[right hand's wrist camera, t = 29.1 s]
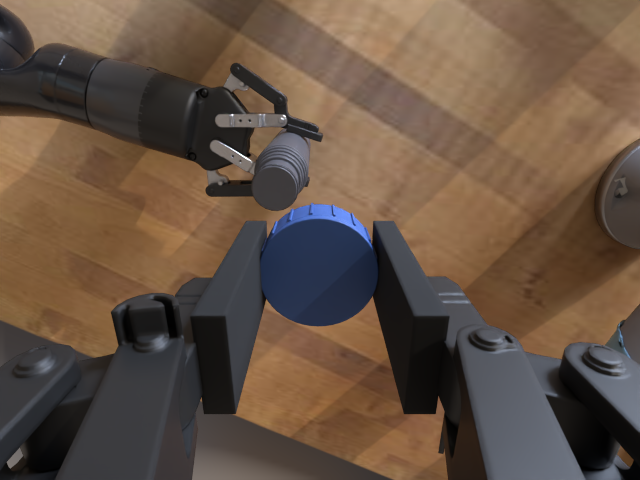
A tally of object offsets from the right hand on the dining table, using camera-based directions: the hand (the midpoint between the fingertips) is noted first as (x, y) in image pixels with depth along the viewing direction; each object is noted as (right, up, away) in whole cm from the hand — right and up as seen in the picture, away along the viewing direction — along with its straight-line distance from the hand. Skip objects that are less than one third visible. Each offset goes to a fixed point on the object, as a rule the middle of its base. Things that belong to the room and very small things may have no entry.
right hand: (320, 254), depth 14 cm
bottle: (-3, +12, +31) cm, 34 cm away
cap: (0, -1, -1) cm, 2 cm away
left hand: (-1, +9, +25) cm, 27 cm away
